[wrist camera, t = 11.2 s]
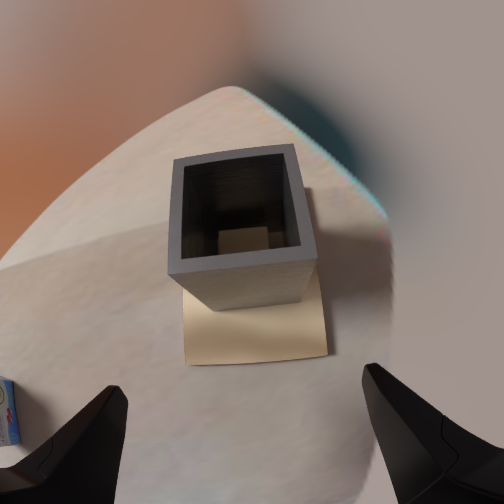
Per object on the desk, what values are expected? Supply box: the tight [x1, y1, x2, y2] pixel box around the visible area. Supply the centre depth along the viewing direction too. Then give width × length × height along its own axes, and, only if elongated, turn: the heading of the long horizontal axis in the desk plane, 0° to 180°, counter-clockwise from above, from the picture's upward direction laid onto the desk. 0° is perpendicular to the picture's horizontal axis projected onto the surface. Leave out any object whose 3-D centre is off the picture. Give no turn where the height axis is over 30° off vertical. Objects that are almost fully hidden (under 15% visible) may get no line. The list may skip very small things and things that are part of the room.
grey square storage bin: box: [168, 144, 318, 311], centre depth 17 cm, size 6×6×9 cm
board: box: [183, 226, 328, 365], centre depth 20 cm, size 14×10×4 cm
